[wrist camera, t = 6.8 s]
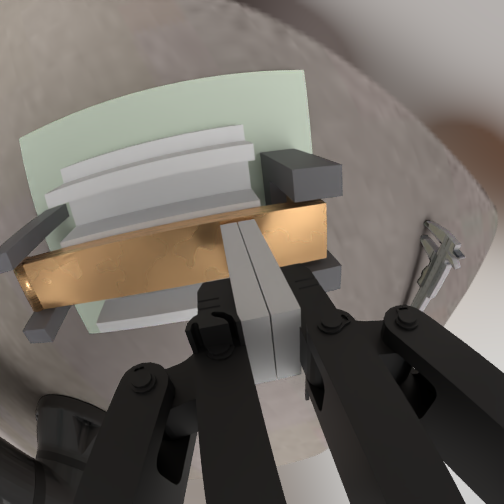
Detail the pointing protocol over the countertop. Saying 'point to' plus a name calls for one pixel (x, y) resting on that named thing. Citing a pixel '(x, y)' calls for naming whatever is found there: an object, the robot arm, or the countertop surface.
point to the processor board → (165, 116)
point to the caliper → (436, 263)
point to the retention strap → (167, 255)
